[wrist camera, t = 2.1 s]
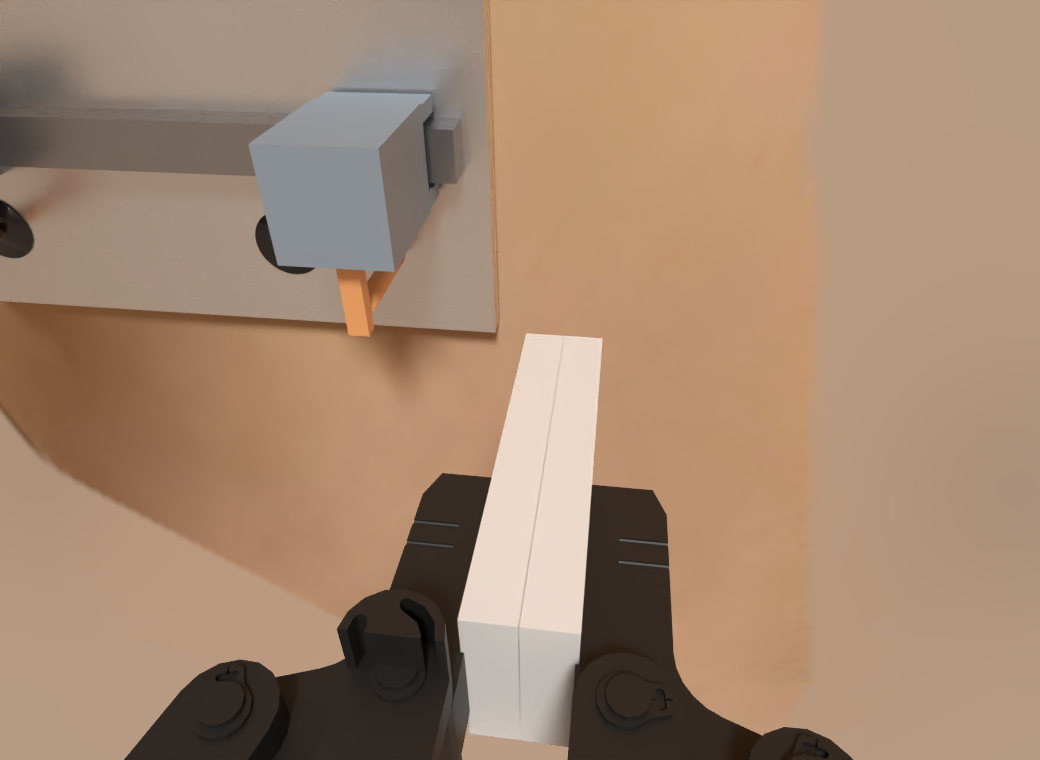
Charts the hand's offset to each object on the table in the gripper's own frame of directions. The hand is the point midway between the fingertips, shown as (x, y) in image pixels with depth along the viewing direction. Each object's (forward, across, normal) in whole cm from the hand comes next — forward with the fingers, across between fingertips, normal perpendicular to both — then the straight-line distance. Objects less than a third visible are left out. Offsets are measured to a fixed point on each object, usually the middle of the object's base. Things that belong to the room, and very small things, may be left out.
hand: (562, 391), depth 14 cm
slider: (+14, -8, -1) cm, 17 cm away
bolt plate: (+16, -17, -1) cm, 23 cm away
